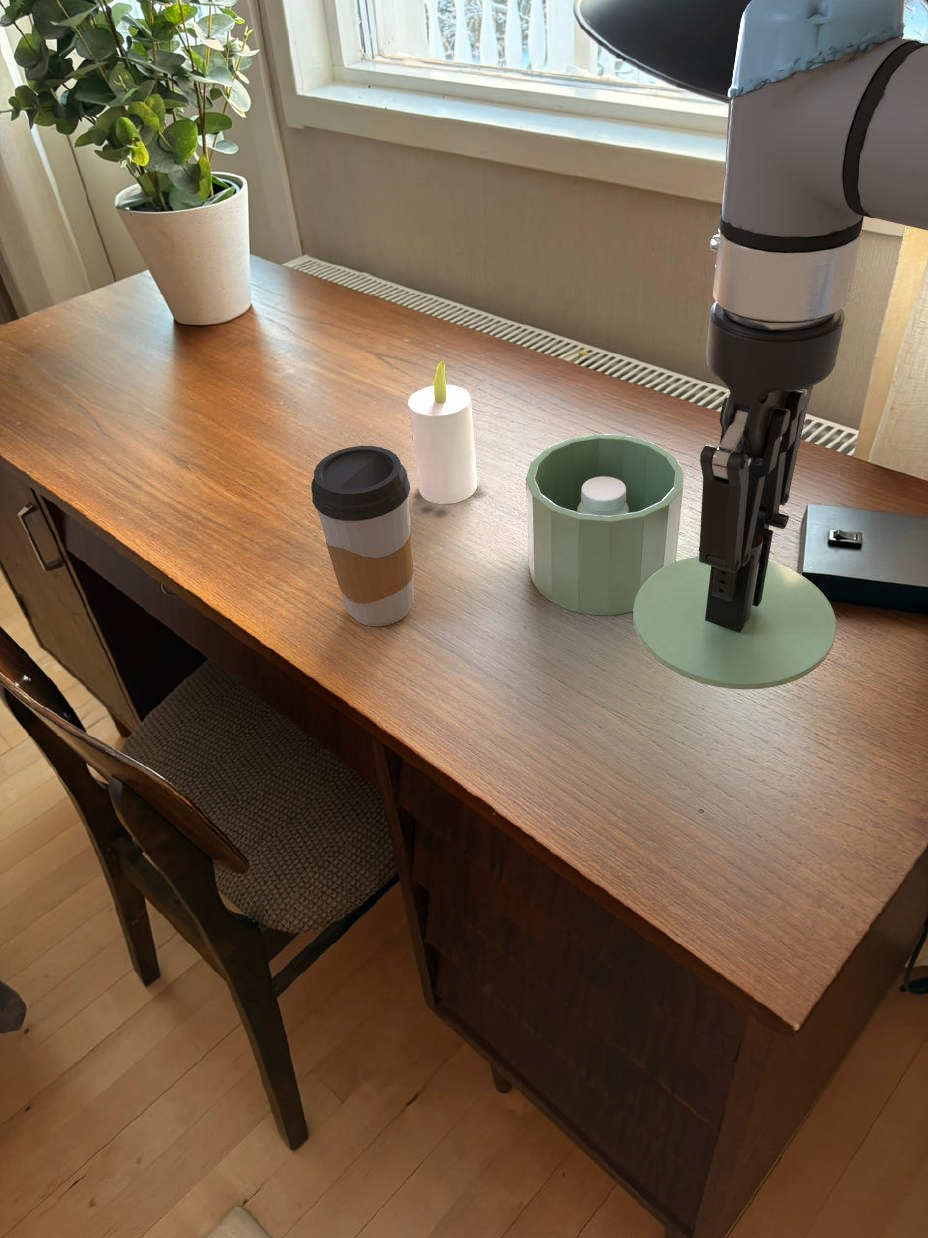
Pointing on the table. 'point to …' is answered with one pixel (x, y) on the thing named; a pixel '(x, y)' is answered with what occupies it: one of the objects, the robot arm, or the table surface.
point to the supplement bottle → (603, 497)
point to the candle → (443, 441)
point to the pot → (601, 522)
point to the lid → (714, 655)
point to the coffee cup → (367, 531)
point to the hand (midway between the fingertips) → (733, 610)
